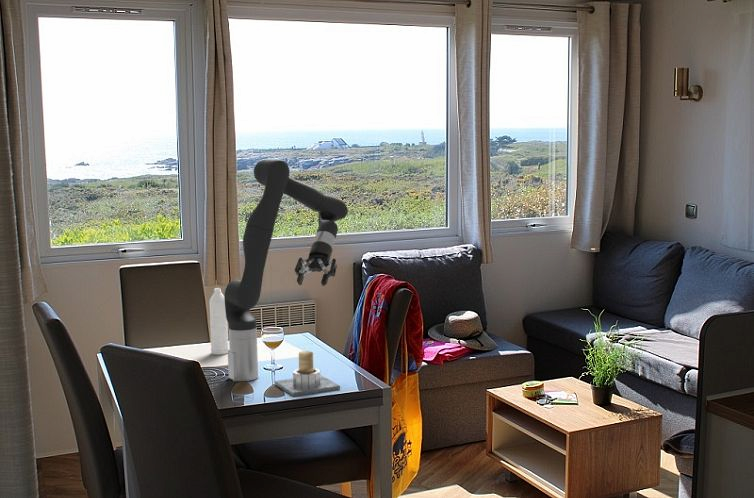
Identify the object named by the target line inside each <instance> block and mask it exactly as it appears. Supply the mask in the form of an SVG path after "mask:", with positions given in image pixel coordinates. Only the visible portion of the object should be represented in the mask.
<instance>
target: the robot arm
mask: <svg viewBox="0 0 754 498" xmlns="http://www.w3.org/2000/svg"><path fill="white" fill-rule="evenodd" d="M253 176H254V179H255V180H256V181H257V182H258V183H259V184H260V185H262V186H264V190H263V195H262V197H261V199H260V201H259V202H258V204H257V206H256V207H255V208H254V209H253V211H252V213H251V214H250V215H249V217H248V219H247V221H246V224H245V229H244V233H243V237H242V249H243V254H244V255H243V257H244V268H243V269H244V270H243V273H242V277H241V279H234V280H231V281H230V282H228V283H227V285H226V286H225V289H224V298H225V312H226V319H227V322H228V348H229V350H228V353H227V368H228V378H229V379H230V380H231V381H233V382H248V381H254V380H256V379H258V378H259V362H258V335H257V334H258V332H257V330H258V329H257V327H258V325H257V319H256V318H255V317H254V316H253V314H252V311H251V309H253V308H254V307H256V305H258V302H259V300H260V298H261V292H262V286H263V285H262V284H263V277H264V271H265V266H266V262H267V258H268V253H269V249H270V246H271V242H272V239H273V233H274V229H275V225H276V222H277V221H276V220H277V217H278V213H279V209H280V206H281V202H282V199H283V196H284V194H285V195H286V196H288V197H290V198H292V199H293V200H294V201H297V202H299V203H300V204H302V205H303V206H305V207H306V208H308V209H309V210H311V211H313V212H316V213H318V227H317V230H316V233H315V236H314V238H313V241H312V244H311V246H310V250H309V253H308V257H307V258H306V259H303V257H298V260H297V263H296V265H295V268H294V272H295V274H296V276H297V277H296V282H297V284H298V285H299V286H302V285H303V281H304V278H305V276H306V275H307V274H311V272H312V273H314V272H319V273H321V272H323V274H322V278H321V282H320V284H321V286H322V287H325V286H326V285H327V284H328V281H329V278H330V277H333V278H334V277H335V276H336V271H337V268H338V262H337V259H336V258H332V259H331V257H332V254H333V250H334V249H335V243H336V242H335V241H336V239H337V235H338V230H339V227H338V225H337V223H336V222H337V221H340V220H343V219H345V217H346V216H347V215H348V212H349V209H348V207H347V204H346V203H345V202H344V201H343V200H342V199H339V198H338V197H335V196H332V195H329V194H325V193H323V192H321V191H319V190H318V189H317V188H315V187H313V186H311V185H310V184H307V183H304V182H302V181H299V180H297V179H294V178H292V177H290V167H289V164H288V163H287V161H285V160H283V159H276V158H275V159H274V158H271V159H269V158H265V159H261V160H259V161H258V162H257V163H256V164H255V165H254V168H253ZM328 266H330V268H329V270H328V269H327V267H328Z"/></svg>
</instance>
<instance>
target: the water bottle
mask: <svg viewBox="0 0 754 498" xmlns="http://www.w3.org/2000/svg"><path fill="white" fill-rule="evenodd" d="M213 291H214V292H213V293H212V295H211V297H210V299H209V303H208V304H209V326H210V327H209V329H210V330H209V331H210V346H211V347H210V353H211V354H212V355H217V356H220V355H228V350H230V348H229V324H228V322H227V319H226V312H225V298H224V296H225V294H223V293H222V290H221V287H215V288H214V290H213Z"/></svg>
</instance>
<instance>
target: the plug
mask: <svg viewBox="0 0 754 498" xmlns="http://www.w3.org/2000/svg"><path fill="white" fill-rule="evenodd" d="M313 368H314V352H313V351H310V350H309V351H308V350H306V351H305V350H304V351H300V352H298V369H299V373H301V374H309V373H313Z"/></svg>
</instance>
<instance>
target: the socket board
mask: <svg viewBox="0 0 754 498" xmlns="http://www.w3.org/2000/svg"><path fill="white" fill-rule="evenodd" d="M274 385H275V386H277V387H278V388H279V389H281V390H283V391H284V392H285V393H287V394H289V395H291V396H292V397H298V396H306V395H312V394H318V393H325V392H331V391H338V390H341V385H339V384H337V383H336V382H334V381H332V380H330V379H329V378H327V377H325V376H323V375H321V370H320V369H318V368H314V367H313V373H309V374H301V373H299V368H297V369H294V370H293V371H292V378H287V379H280V380H274Z"/></svg>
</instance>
